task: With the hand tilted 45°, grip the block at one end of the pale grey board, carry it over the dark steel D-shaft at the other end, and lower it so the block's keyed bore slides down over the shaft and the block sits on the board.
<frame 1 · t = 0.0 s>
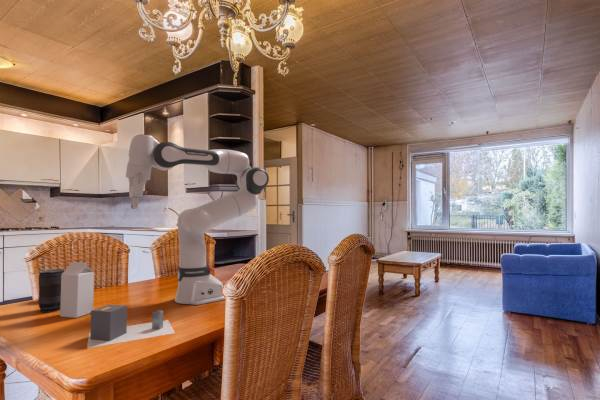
hand: (133, 208, 131), 39 cm above the table, tool pointing down, fingers open, 8 cm apart
block: (108, 336, 95), point 1 cm above the table, touching workboard
d shaft: (157, 328, 101), resting on workboard
milk carton: (76, 315, 120), on the table
workboard: (132, 337, 98), on the table
camera lens: (51, 310, 126), on the table
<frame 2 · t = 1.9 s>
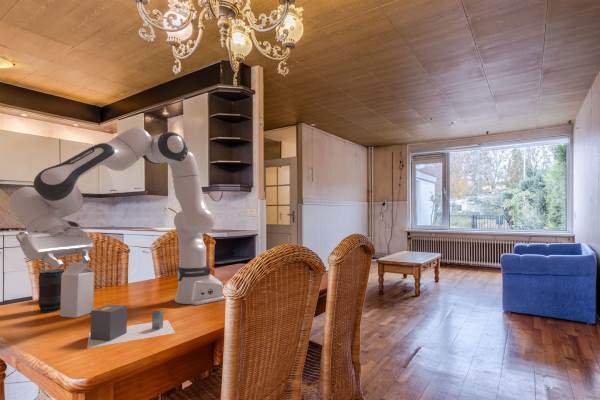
hand: (74, 264, 98), 22 cm above the table, tool tilted 45°, fingers open, 8 cm apart
nothing on the table moved.
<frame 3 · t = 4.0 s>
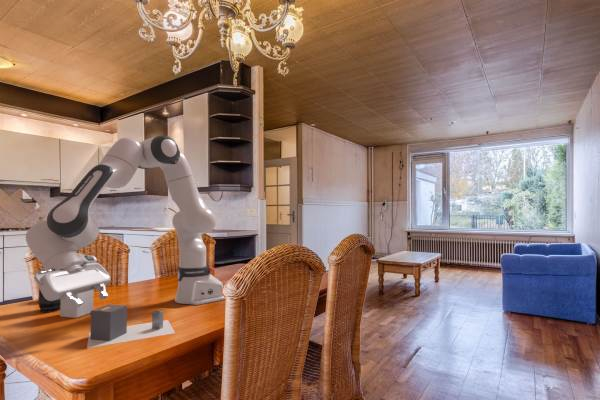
hand: (92, 301, 97), 11 cm above the table, tool tilted 45°, fingers open, 8 cm apart
nothing on the table moved.
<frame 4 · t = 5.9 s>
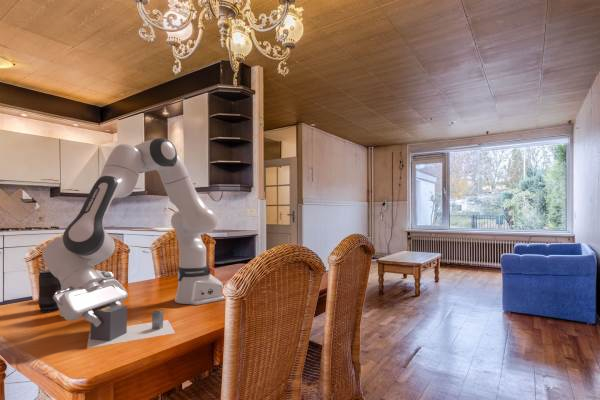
hand: (111, 320, 95), 6 cm above the table, tool tilted 45°, fingers closed on block, 6 cm apart
block: (108, 336, 95), point 1 cm above the table, touching gripper, workboard
everything else where it was.
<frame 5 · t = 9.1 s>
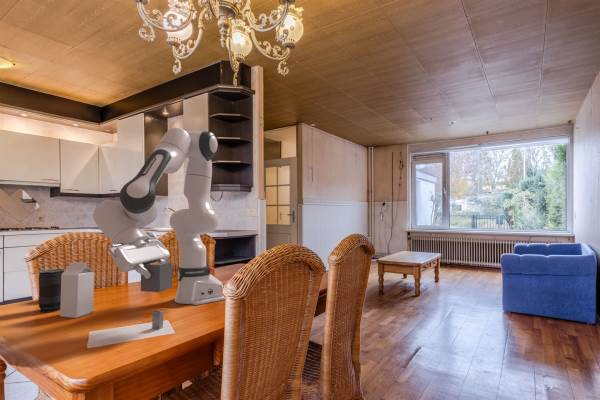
hand: (158, 274, 102), 18 cm above the table, tool tilted 45°, fingers closed on block, 6 cm apart
block: (156, 289, 102), point 13 cm above the table, touching gripper
everything else where it was.
when the fingers open (7 cm above the table, at t = 12.3 s): block stays where it is, resting on workboard.
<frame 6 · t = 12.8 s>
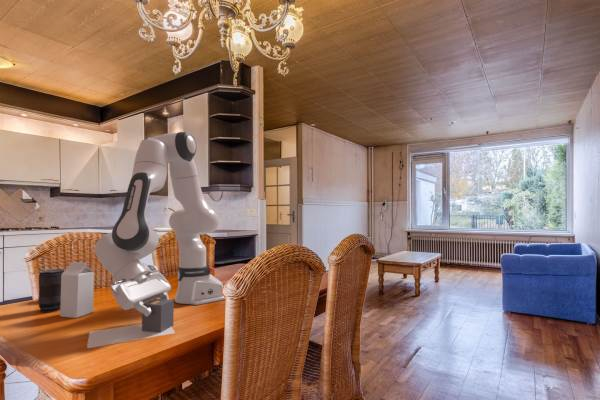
hand: (159, 310, 102), 7 cm above the table, tool tilted 45°, fingers open, 8 cm apart
block: (157, 328, 102), point 1 cm above the table, touching workboard
everything else where it was.
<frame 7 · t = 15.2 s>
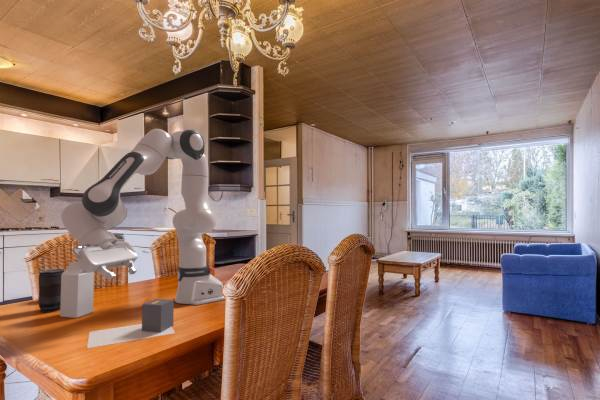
hand: (123, 275, 105), 17 cm above the table, tool tilted 45°, fingers open, 8 cm apart
nothing on the table moved.
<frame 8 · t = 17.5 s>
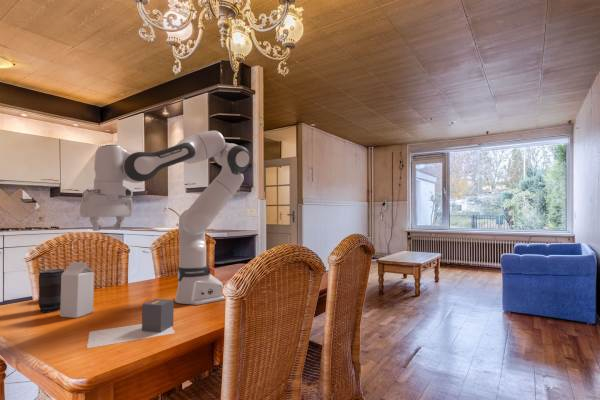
hand: (107, 229, 116), 31 cm above the table, tool pointing down, fingers open, 8 cm apart
nothing on the table moved.
at the end: block 0.1 cm from the d shaft (horizontally); block point 1.5 cm above the table; block tilted 0° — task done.
